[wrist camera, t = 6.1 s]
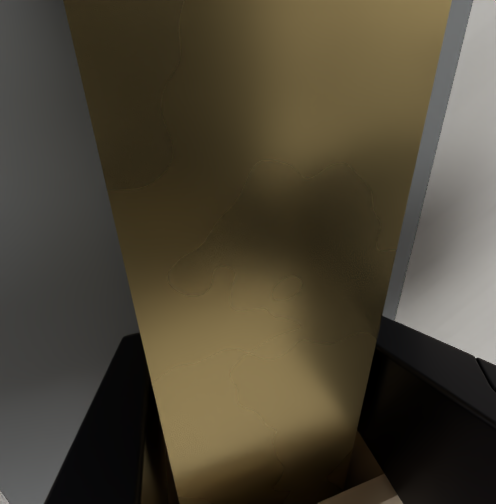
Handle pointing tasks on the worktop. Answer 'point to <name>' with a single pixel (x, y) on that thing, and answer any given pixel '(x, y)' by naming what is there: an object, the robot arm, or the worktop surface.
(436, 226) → the worktop surface
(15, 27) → the slate mat
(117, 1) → the tube
